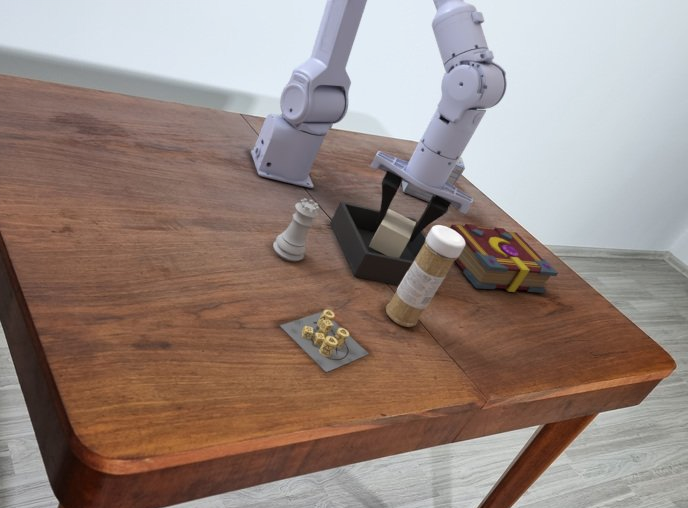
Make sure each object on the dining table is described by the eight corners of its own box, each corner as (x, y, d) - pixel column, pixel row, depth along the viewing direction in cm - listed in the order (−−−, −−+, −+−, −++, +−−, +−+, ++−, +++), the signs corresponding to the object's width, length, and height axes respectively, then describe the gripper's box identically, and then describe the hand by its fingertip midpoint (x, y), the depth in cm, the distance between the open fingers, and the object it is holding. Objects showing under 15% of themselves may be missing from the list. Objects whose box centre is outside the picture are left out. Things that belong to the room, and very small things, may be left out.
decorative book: (437, 244, 114) (452, 219, 112) (507, 252, 122) (523, 229, 120) (475, 290, 107) (492, 264, 104) (547, 295, 115) (565, 271, 112)
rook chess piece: (307, 255, 97) (330, 206, 93) (295, 267, 93) (318, 217, 89) (279, 238, 98) (301, 190, 93) (266, 250, 94) (288, 200, 90)
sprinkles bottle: (403, 305, 96) (452, 224, 88) (422, 328, 93) (474, 246, 85) (378, 305, 93) (425, 222, 86) (396, 329, 90) (447, 245, 83)
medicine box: (439, 197, 131) (462, 157, 126) (442, 208, 127) (466, 167, 123) (400, 182, 130) (422, 141, 125) (402, 192, 126) (424, 150, 122)
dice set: (322, 320, 86) (328, 308, 85) (351, 347, 83) (358, 335, 82) (294, 329, 82) (301, 317, 81) (324, 358, 80) (331, 346, 79)
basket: (353, 276, 97) (366, 253, 95) (329, 222, 107) (340, 200, 105) (434, 292, 102) (447, 270, 99) (404, 239, 112) (415, 218, 110)
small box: (368, 246, 101) (380, 223, 99) (376, 230, 106) (388, 208, 104) (397, 261, 100) (409, 238, 98) (403, 244, 105) (416, 222, 103)
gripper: (491, 163, 97) (444, 242, 104) (396, 116, 98) (356, 198, 106) (488, 180, 91) (438, 262, 98) (387, 130, 92) (345, 215, 100)
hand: (395, 230), depth 102 cm, fingers closed on small box, 4 cm apart
